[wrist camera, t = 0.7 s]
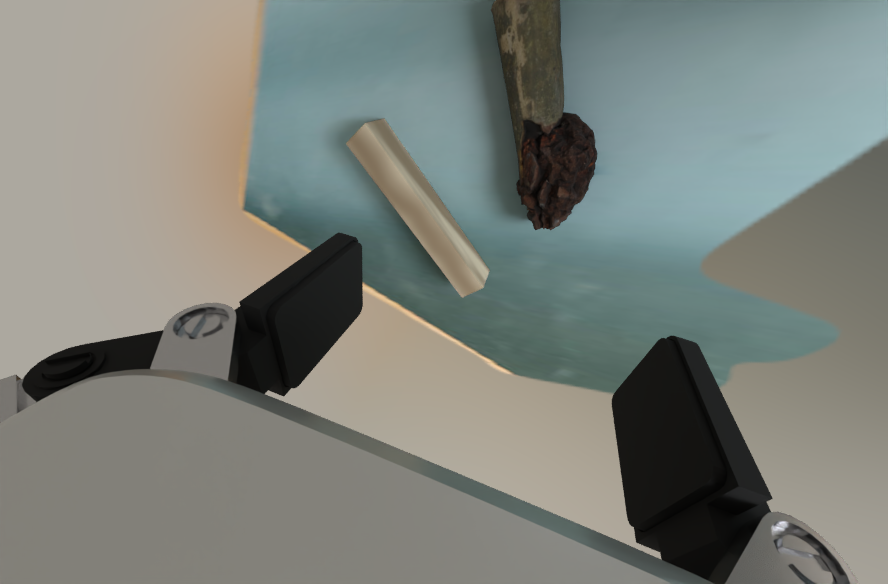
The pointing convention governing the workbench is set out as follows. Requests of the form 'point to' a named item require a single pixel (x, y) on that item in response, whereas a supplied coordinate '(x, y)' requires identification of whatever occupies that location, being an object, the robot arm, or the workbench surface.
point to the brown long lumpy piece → (542, 112)
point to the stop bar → (418, 205)
